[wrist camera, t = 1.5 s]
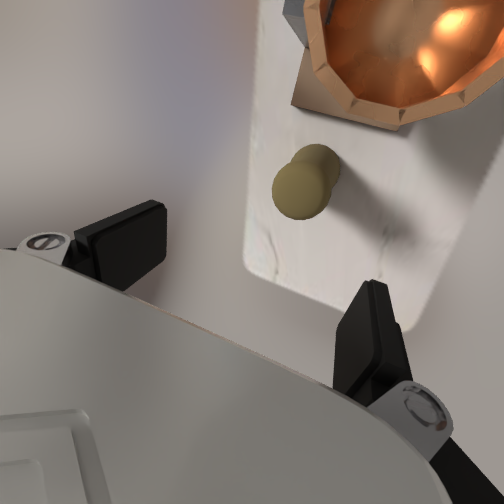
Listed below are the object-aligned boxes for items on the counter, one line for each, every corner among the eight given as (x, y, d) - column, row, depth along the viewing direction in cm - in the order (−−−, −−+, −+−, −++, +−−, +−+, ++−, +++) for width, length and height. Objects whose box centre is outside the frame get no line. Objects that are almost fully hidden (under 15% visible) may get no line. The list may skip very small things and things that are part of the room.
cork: (349, 181, 29) (348, 212, 19) (302, 204, 32) (283, 239, 23) (326, 132, 27) (315, 141, 18) (280, 161, 30) (250, 181, 21)
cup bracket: (334, -59, 20) (315, -268, 9) (507, -39, 18) (759, -284, 7) (292, 105, 27) (252, 98, 16) (416, 136, 24) (470, 153, 13)
